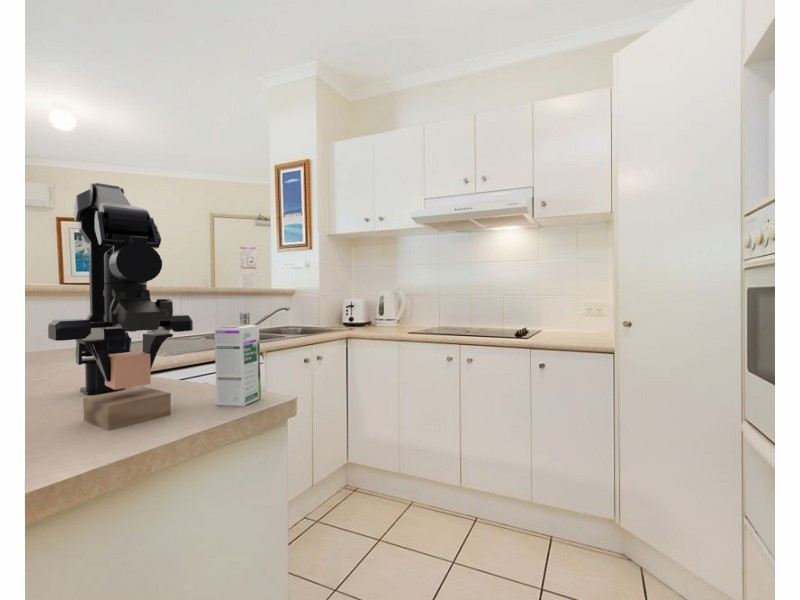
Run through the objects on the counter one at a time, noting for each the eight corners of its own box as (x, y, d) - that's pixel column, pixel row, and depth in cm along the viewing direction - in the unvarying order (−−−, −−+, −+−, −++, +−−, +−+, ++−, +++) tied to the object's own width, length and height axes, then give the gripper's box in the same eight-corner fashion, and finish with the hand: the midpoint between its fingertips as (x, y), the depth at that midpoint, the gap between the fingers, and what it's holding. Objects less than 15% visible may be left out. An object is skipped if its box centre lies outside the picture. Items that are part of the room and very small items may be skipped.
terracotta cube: (104, 385, 64) (104, 354, 64) (139, 379, 68) (139, 351, 67) (114, 389, 61) (114, 357, 60) (150, 383, 64) (150, 353, 64)
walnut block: (83, 422, 63) (83, 398, 63) (144, 408, 70) (144, 386, 70) (108, 433, 58) (108, 406, 58) (170, 416, 66) (170, 393, 65)
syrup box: (244, 407, 69) (243, 326, 69) (214, 405, 71) (213, 326, 70) (261, 398, 75) (260, 324, 75) (234, 397, 76) (233, 323, 76)
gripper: (64, 281, 51) (66, 398, 52) (206, 283, 66) (207, 375, 66) (46, 283, 58) (48, 386, 59) (178, 285, 73) (180, 367, 73)
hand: (127, 378), depth 64 cm, fingers closed on terracotta cube, 5 cm apart
